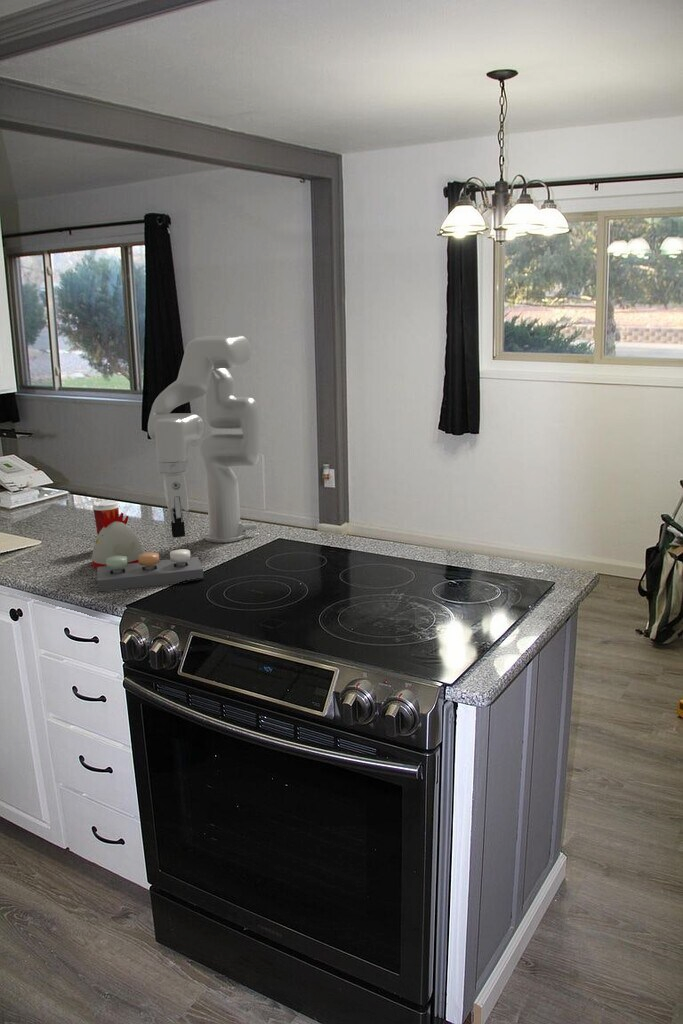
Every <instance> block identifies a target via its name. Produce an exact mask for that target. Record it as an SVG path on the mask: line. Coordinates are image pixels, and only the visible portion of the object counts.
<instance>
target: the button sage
mask: <svg viewBox="0 0 683 1024" xmlns="http://www.w3.org/2000/svg"><path fill="white" fill-rule="evenodd" d="M106 565H107V568H108V569H113V574H117V573H123V571H122V568H124V567H127V566H128V563H127V557H126V556H112V557H109V558H107V559H106Z"/></svg>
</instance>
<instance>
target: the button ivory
mask: <svg viewBox="0 0 683 1024" xmlns="http://www.w3.org/2000/svg"><path fill="white" fill-rule="evenodd" d="M169 557H170V558H169V560H170V561H171V562H176V567H183V566H186V564H185V562H186V561H189V560H190V559H191V558H190V557H191V550H189V549H185V548H184V549H175V550H171V551H170V552H169Z"/></svg>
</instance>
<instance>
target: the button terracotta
mask: <svg viewBox="0 0 683 1024" xmlns="http://www.w3.org/2000/svg"><path fill="white" fill-rule="evenodd" d="M138 560H139V565H142V566H145V570H154V565H155V564H158V563H159V561H160V555H159V553H158V552H143V554H140V555H139V556H138Z"/></svg>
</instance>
